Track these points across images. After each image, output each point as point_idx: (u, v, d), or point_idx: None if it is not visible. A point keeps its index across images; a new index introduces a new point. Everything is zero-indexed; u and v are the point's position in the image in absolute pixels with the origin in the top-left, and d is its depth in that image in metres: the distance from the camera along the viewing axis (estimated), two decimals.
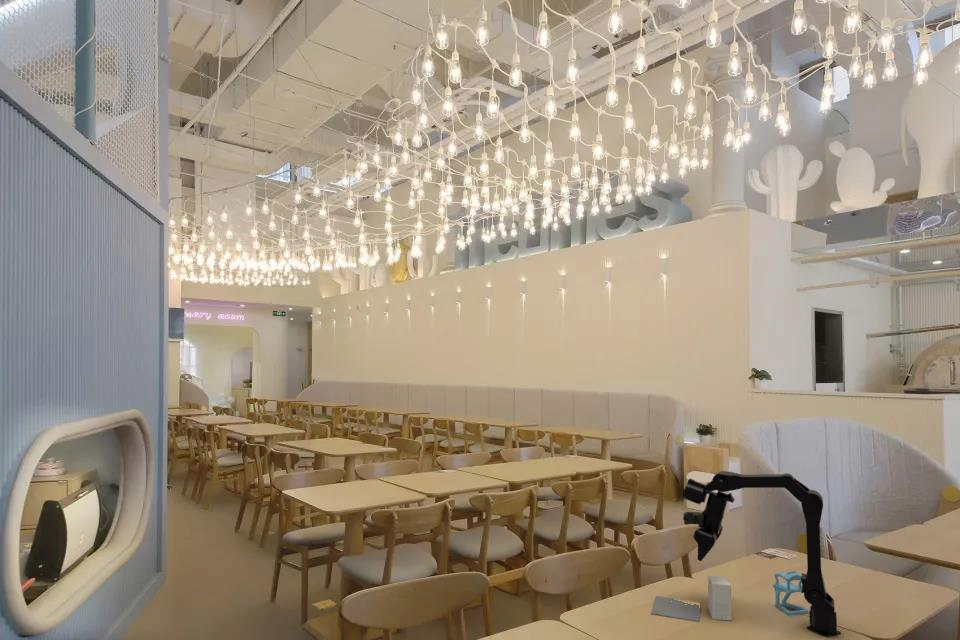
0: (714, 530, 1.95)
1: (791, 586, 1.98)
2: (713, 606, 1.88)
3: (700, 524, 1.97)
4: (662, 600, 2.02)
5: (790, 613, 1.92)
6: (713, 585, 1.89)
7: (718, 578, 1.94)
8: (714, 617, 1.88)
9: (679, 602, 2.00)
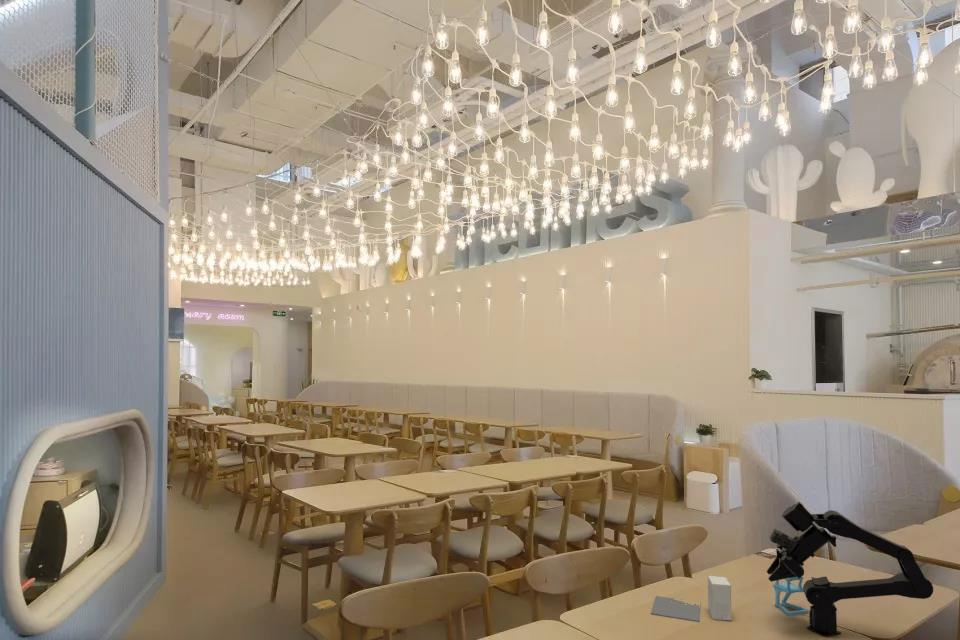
0: (800, 562, 1.82)
1: (791, 586, 1.98)
2: (713, 606, 1.88)
3: (789, 550, 1.83)
4: (662, 600, 2.02)
5: (790, 613, 1.92)
6: (713, 585, 1.89)
7: (718, 578, 1.94)
8: (714, 617, 1.88)
9: (679, 602, 2.00)
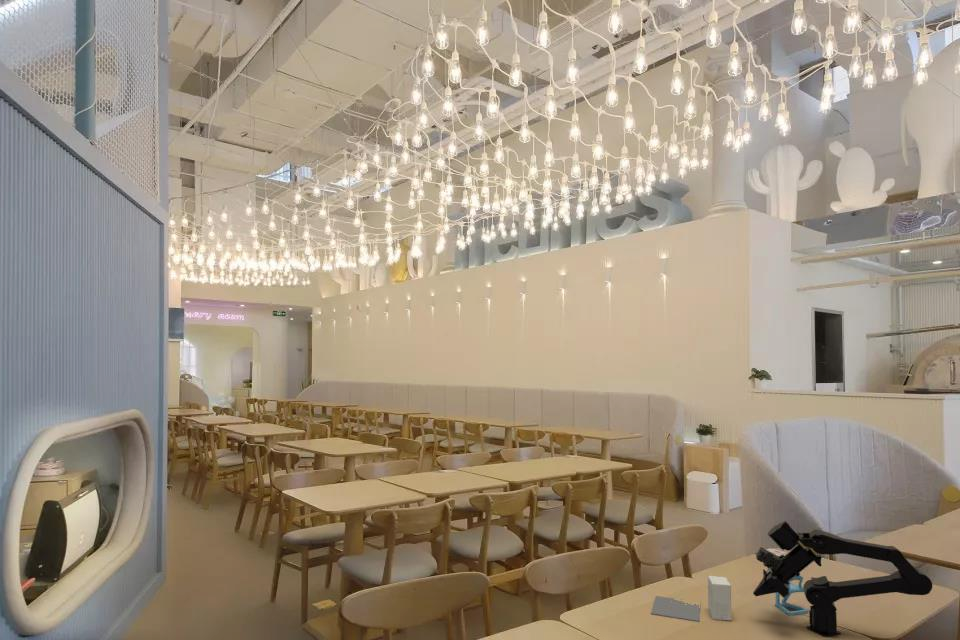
0: (785, 581, 1.83)
1: (791, 586, 1.98)
2: (713, 606, 1.88)
3: (774, 568, 1.84)
4: (662, 600, 2.02)
5: (790, 613, 1.92)
6: (713, 585, 1.89)
7: (718, 578, 1.94)
8: (714, 617, 1.88)
9: (679, 602, 2.00)
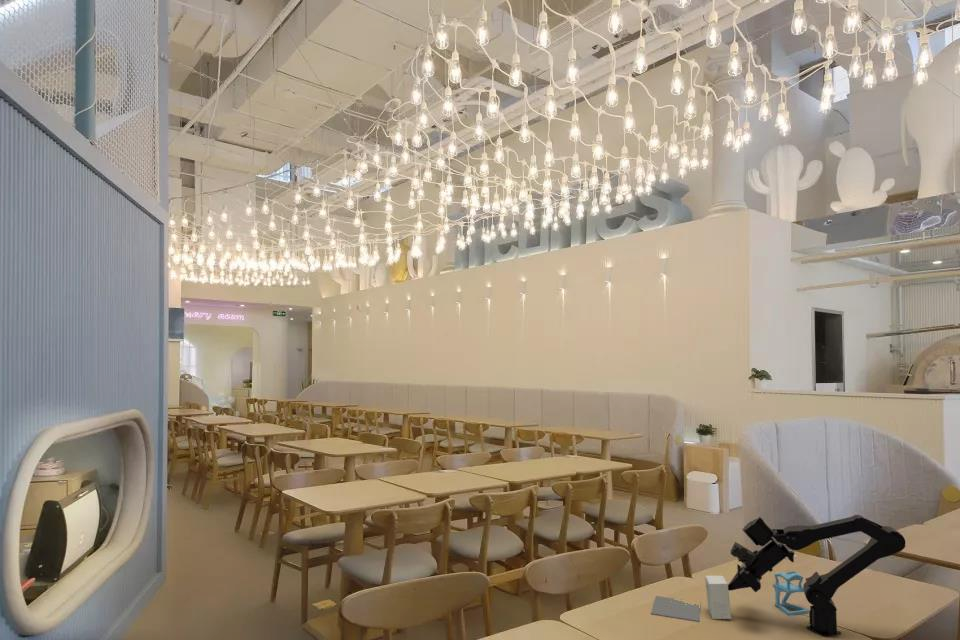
0: (758, 575, 1.86)
1: (791, 586, 1.98)
2: (712, 606, 1.88)
3: (748, 563, 1.87)
4: (662, 600, 2.02)
5: (790, 613, 1.92)
6: (710, 585, 1.89)
7: (715, 577, 1.94)
8: (714, 617, 1.88)
9: (679, 602, 2.00)
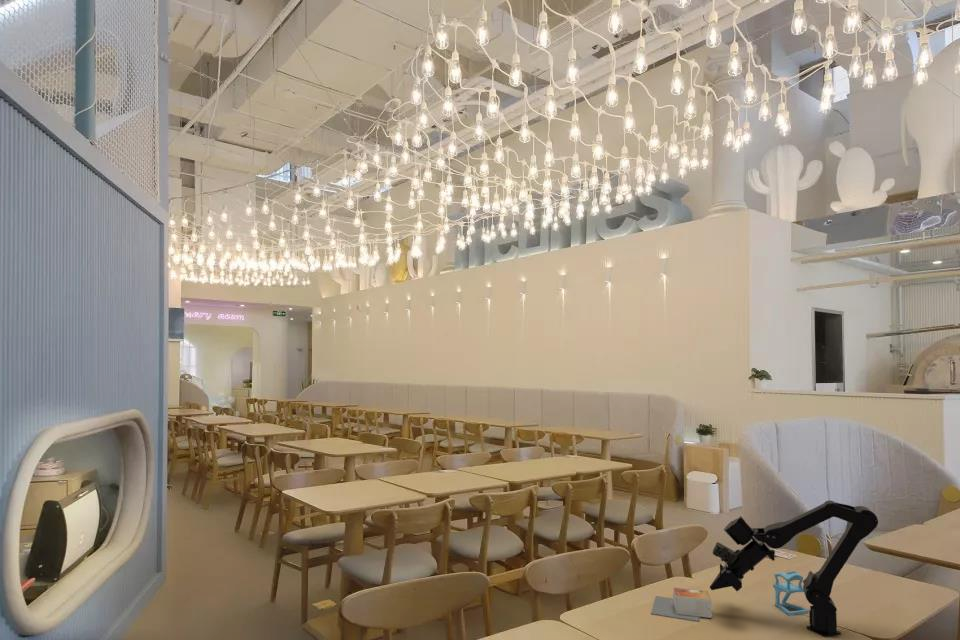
0: (739, 575, 1.88)
1: (791, 586, 1.98)
2: (698, 615, 1.89)
3: (729, 563, 1.89)
4: (662, 600, 2.02)
5: (790, 613, 1.92)
6: (677, 613, 1.90)
7: None
8: (709, 615, 1.88)
9: None
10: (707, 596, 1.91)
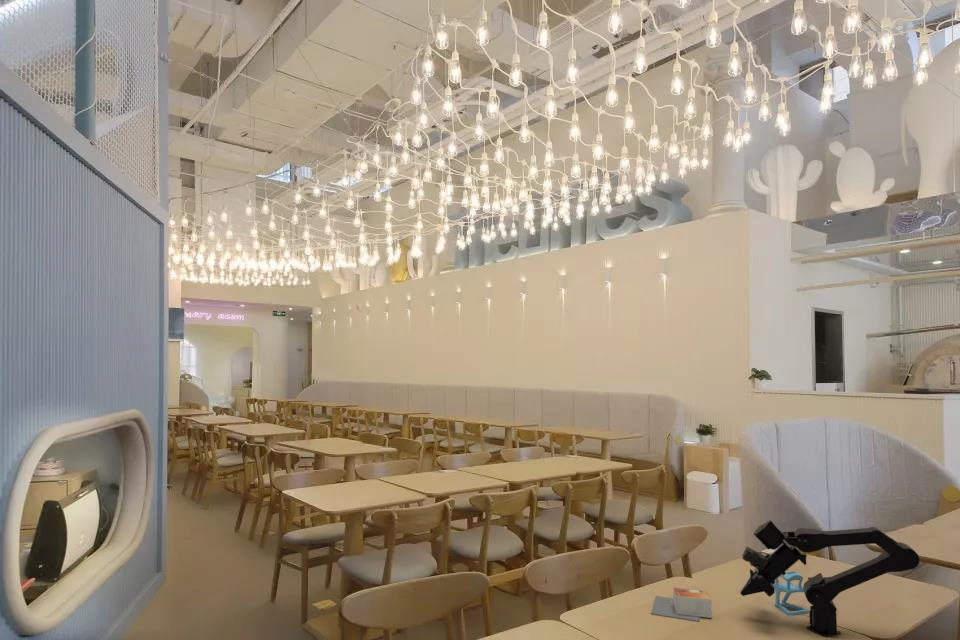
0: (771, 580, 1.85)
1: (791, 586, 1.98)
2: (698, 615, 1.89)
3: (760, 568, 1.85)
4: (662, 600, 2.02)
5: (790, 613, 1.92)
6: (677, 613, 1.90)
7: None
8: (709, 615, 1.88)
9: None
10: (707, 596, 1.91)
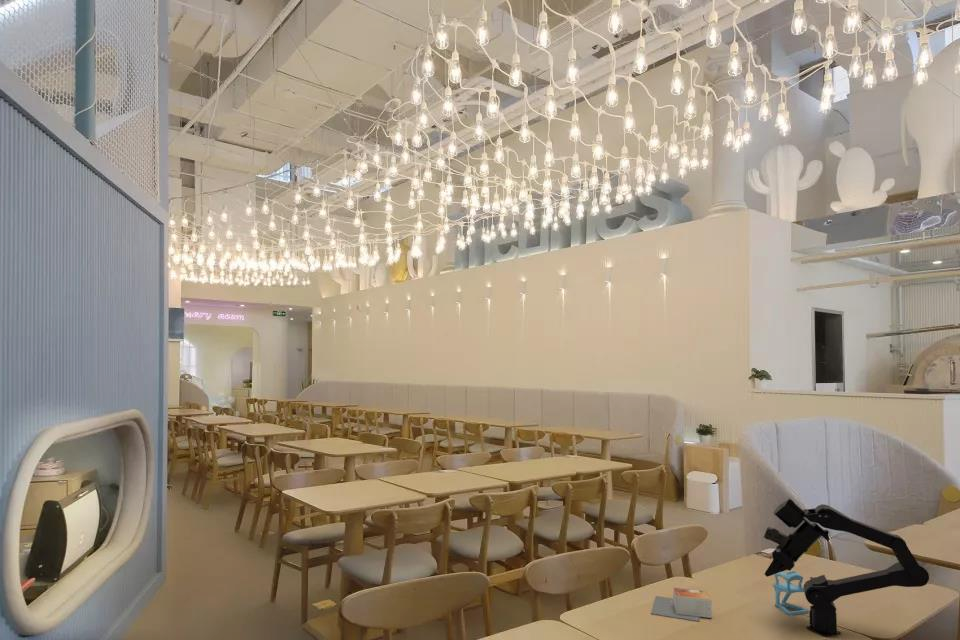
0: (793, 557, 1.83)
1: (791, 586, 1.98)
2: (698, 615, 1.89)
3: (781, 545, 1.85)
4: (662, 600, 2.02)
5: (790, 613, 1.92)
6: (677, 613, 1.90)
7: None
8: (709, 615, 1.88)
9: None
10: (707, 596, 1.91)
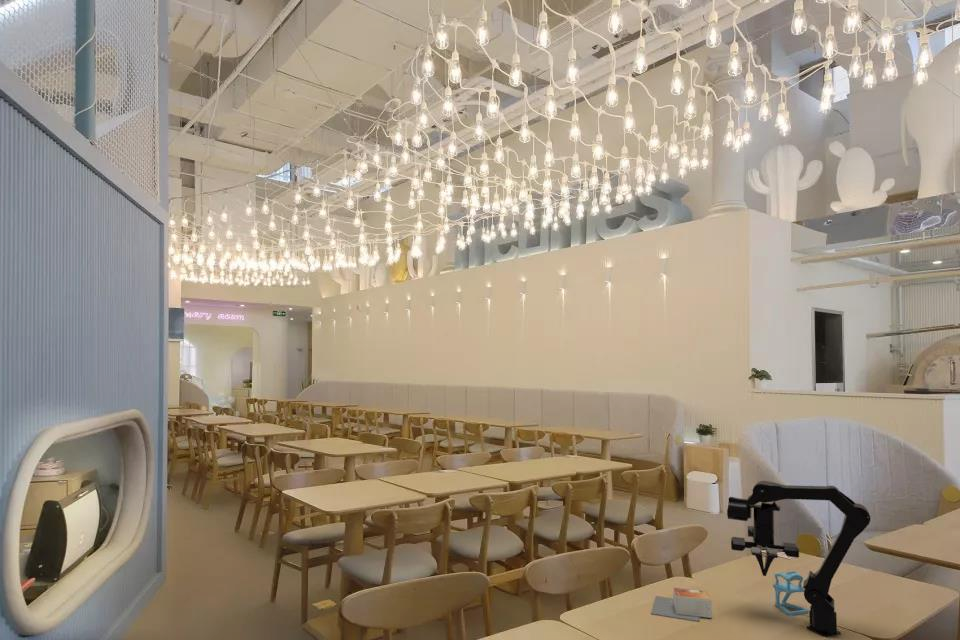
0: (755, 542, 1.90)
1: (791, 586, 1.98)
2: (698, 615, 1.89)
3: (753, 537, 1.94)
4: (662, 600, 2.02)
5: (790, 613, 1.92)
6: (677, 613, 1.90)
7: None
8: (709, 615, 1.88)
9: None
10: (707, 596, 1.91)
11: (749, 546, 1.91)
